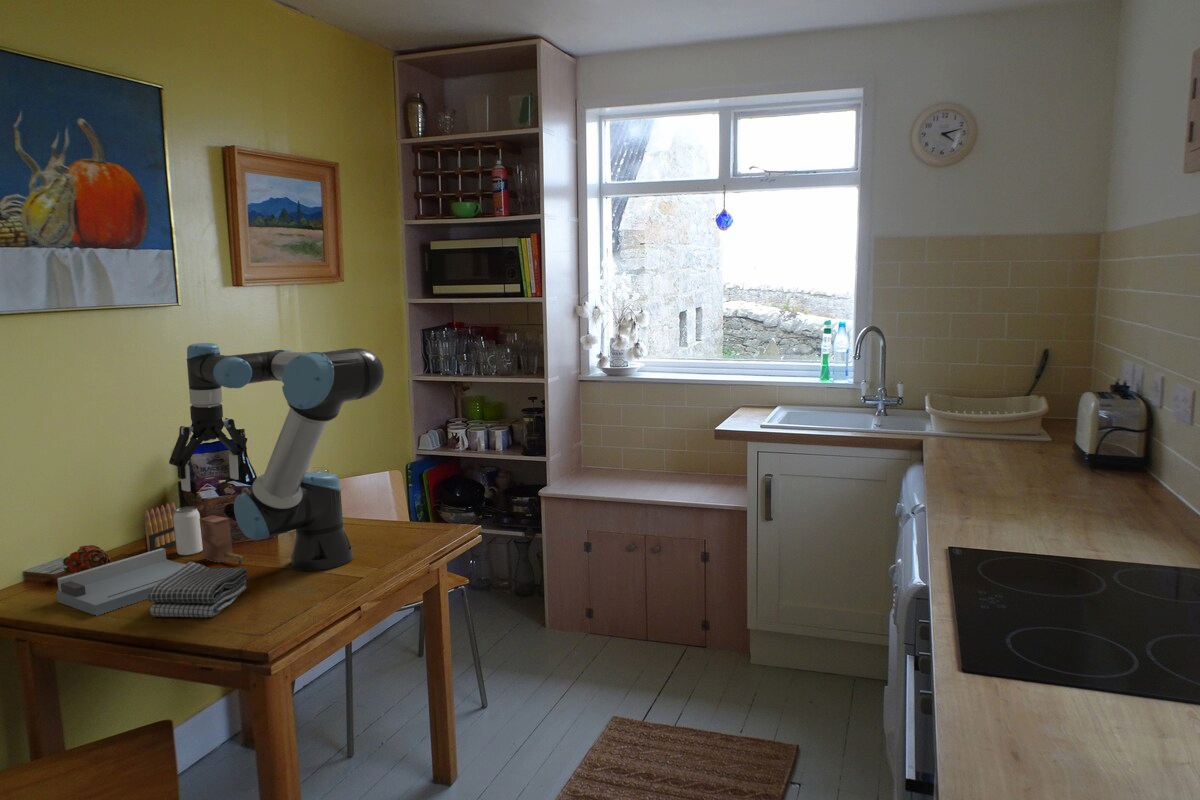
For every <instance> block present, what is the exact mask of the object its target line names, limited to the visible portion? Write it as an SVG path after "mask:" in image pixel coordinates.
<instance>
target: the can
mask: <svg viewBox="0 0 1200 800" xmlns="http://www.w3.org/2000/svg"><path fill="white" fill-rule="evenodd" d="M174 512H175V513H174V516H173V521H174V530H175V538H176V545H175V547H176V553H177V554H178V555H179V556H182V557H183V556H184V557H185V556H193V555H197V554H199V553H202V552H203V547H202V538H201V529H200V520H199V519H201V515H200V512H199V511H198V507H197V506H183V507H178V508H176V510H174Z"/></svg>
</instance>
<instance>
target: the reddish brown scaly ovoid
mask: <svg viewBox="0 0 1200 800" xmlns="http://www.w3.org/2000/svg"><path fill="white" fill-rule="evenodd" d="M111 561H112V559H111V558H110V557H109V554H108V553H107V552H106V551H105V550H104V549H102V548H101V547H99V546H97V545H95V544H89V545H80V546H79V547H78V549H77V551H74V552H71V553H70V555H69V556H67V557H64V559H63V561H62V563H63V566H66V567H63V570H64V572H65V573H66V574H71V573H73V574H75V573H78V572H82V571H85V570H88V569H92V568H95V567H99V566H102V565H106V564H109V563H111Z"/></svg>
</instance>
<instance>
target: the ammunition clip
mask: <svg viewBox="0 0 1200 800" xmlns="http://www.w3.org/2000/svg"><path fill="white" fill-rule="evenodd" d="M165 504H166V505H165V507H164V505H163V504H162V505H160V509H159V507H158V506H156V508H155V511H154V509H153V507H151V509H150V511H148V509H145V513H144V528H145V529H144V530H145V535H144V541H145V553H147V552H150V551H154V550H157V549H161V548H163V549H165V550H166V549H168V548H170V547H172V546H176V538H175V530H174V521H173V516H174V513H175V512H174V510H176V509H177V508H176V504H175V502H174V501H172V502H171V504H169V503H165Z"/></svg>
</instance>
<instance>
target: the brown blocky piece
mask: <svg viewBox="0 0 1200 800" xmlns="http://www.w3.org/2000/svg"><path fill="white" fill-rule="evenodd" d="M199 520H200V529H201V538H202V547H203V550H202V553H203V555H202V557H203V560H204V559H207V560H206V561H208V560H212V561H216V562H223V561H225V560H228V559H232V560H236V561H238V565H242V560H244V559H243V558H244V557H243V555H239V554H235V553H234V552H233V543H232V541H233V540H232V534H231V524H230V523H231V522H230V518H229V517H224V516H219V515H210V516H207V517H202V518H200V519H199ZM223 563H224V562H223Z"/></svg>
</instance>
